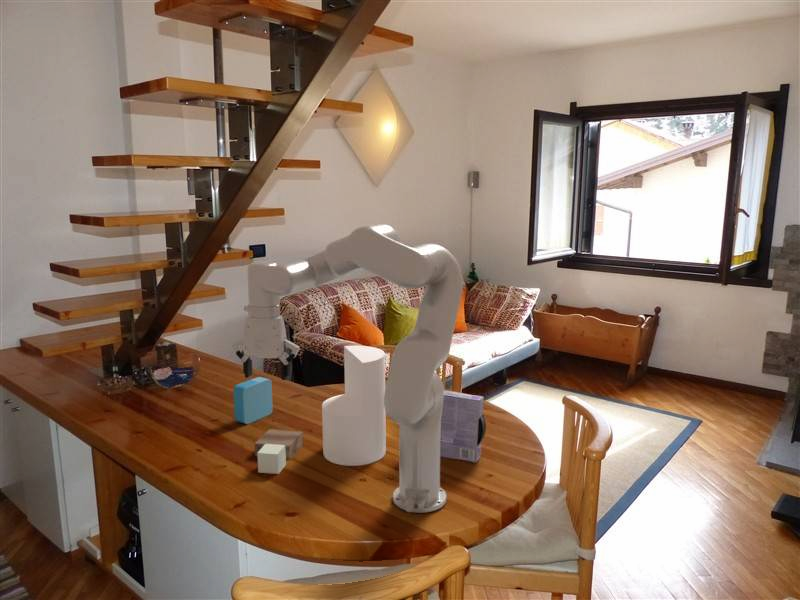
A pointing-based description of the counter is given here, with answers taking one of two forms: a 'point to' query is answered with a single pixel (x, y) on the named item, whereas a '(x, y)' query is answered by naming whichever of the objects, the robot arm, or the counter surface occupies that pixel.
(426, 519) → the counter surface
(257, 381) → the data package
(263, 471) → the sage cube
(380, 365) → the white bottle-shaped block
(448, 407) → the cake pan box
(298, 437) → the pinkish brown square block
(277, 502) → the counter surface
